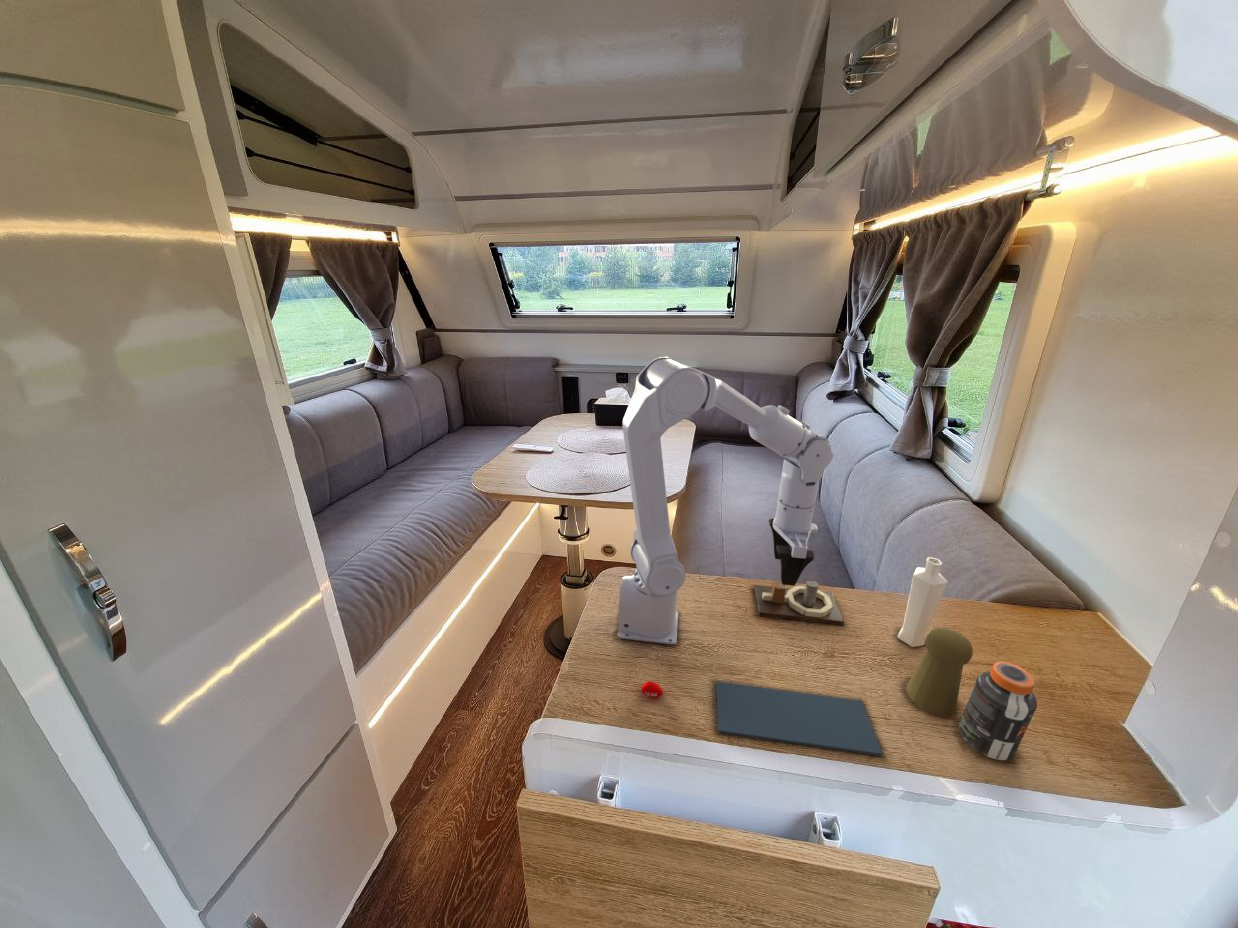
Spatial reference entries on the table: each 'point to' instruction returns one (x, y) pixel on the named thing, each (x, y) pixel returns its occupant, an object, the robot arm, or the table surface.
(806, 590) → the peg stand
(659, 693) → the candy
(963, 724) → the pill bottle
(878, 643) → the table surface
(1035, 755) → the table surface
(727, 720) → the mat
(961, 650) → the pepper shaker
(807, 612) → the octagonal ring with handle
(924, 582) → the perfume bottle
